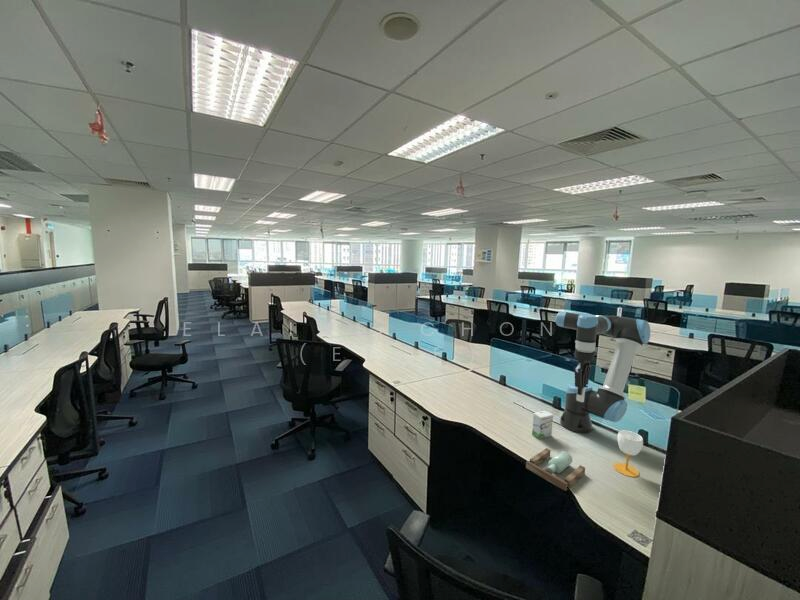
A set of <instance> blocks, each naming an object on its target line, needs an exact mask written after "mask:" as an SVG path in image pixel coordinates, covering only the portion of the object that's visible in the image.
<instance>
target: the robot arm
mask: <svg viewBox="0 0 800 600" xmlns="http://www.w3.org/2000/svg"><path fill="white" fill-rule="evenodd" d="M555 324H556V326H558V327H560V328H565V329H572V330H576V338H575V341H574V343H575V346H574V347H575V349H574V359H577V362H576V367H573V371H574V382H572V383H569V384H568V385H567V387H566V391H565V404H564V405H565V406H564V410H563V412H562V414H561V416H560V421H559V422H560V425H561V426H562V427H563V428H565V429H566V430H569V431H572V432H576V433H581V434H588V433H590V432H592V430H593V424H592V419H591V415H594V416H596V417H599V418H602V419H603V420H605V421H610V422H613V423H618V422H620V421H621V420H623V417H624V416H625V414H626V412H627V410H628V409H627V408H628V402H627V400H625V399H626V397H625V395H624V393H623V392H624V390H625V386H626V383H627V381H628V378H629V375H630V372H631V369H632V365H633V363H634V360H635V357H636V354H637V350H639V349H641V348H642V347H643V344H644V345H645V344H649V342H650V340H651V327H650V324H649V322H648V320H645V319H639V318H633V317H632V318H631V317H626V316H625V317H624V316H619V315H601V314H600V315H599V314H597V315H593V314H584V313H583V314H580V313H575V312H567V311H558V313H557V314H556V316H555ZM597 335H604V336H608V337H611V338H615V339H614V340H615V342H616V343H617V344H616V347H615V350H614V352H613V355H612V358H611V361H610V364H609V367H608V371H607V372H606V376H605V379H604V382H603V385H602V386H600V387H598V389H597V391H596V390H594V389H593V386H592V385H591V384H589V381H590V376H591V370H592V367H593V362H592V361H594V360H595V354H596V353H595V351H596V346H597V345H596V344H597V343H596V342H597ZM590 414H591V415H590Z"/></svg>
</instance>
